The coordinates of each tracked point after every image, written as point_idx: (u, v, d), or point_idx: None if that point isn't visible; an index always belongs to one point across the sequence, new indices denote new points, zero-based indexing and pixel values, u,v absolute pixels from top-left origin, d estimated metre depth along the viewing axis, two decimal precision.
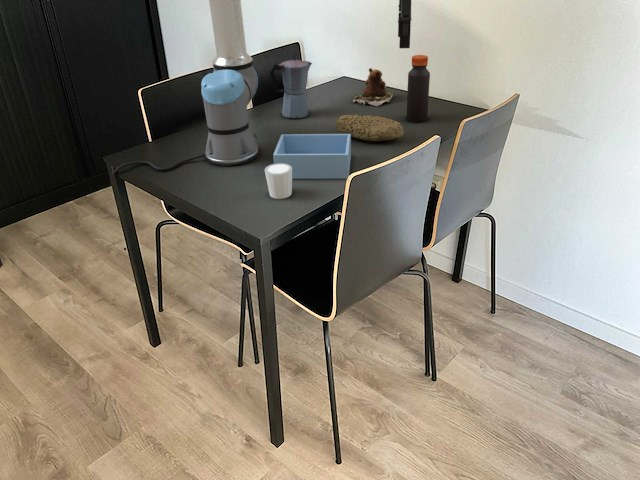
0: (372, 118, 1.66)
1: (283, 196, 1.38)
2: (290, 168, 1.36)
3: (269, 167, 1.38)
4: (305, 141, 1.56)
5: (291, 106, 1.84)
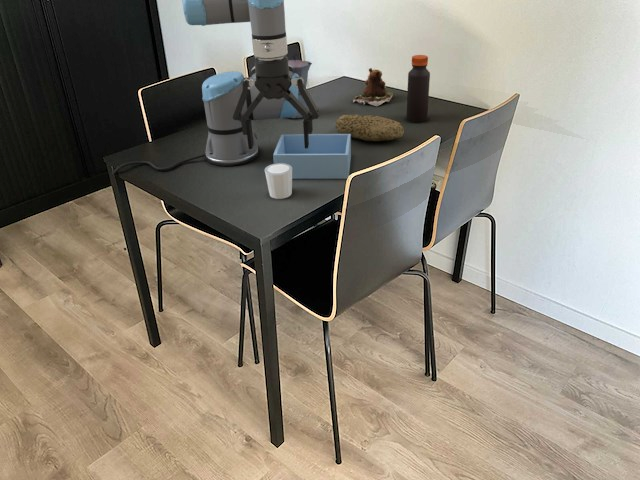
0: (372, 118, 1.66)
1: (283, 196, 1.38)
2: (290, 168, 1.36)
3: (269, 167, 1.38)
4: None
5: None
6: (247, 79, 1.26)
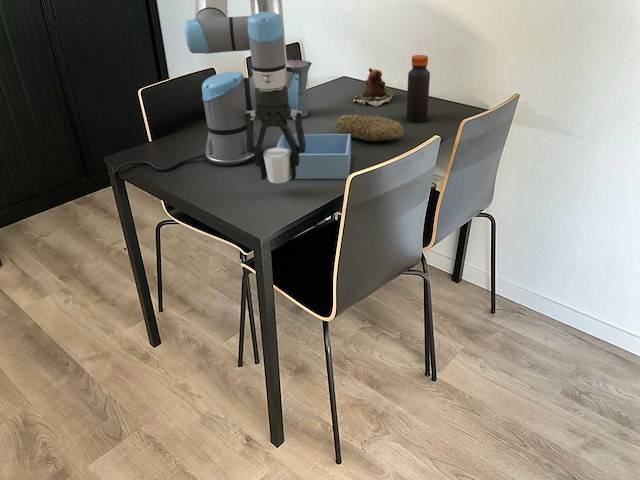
0: (372, 118, 1.66)
1: (282, 180, 1.36)
2: (289, 152, 1.34)
3: (268, 151, 1.36)
4: (305, 141, 1.56)
5: None
6: (247, 111, 1.30)
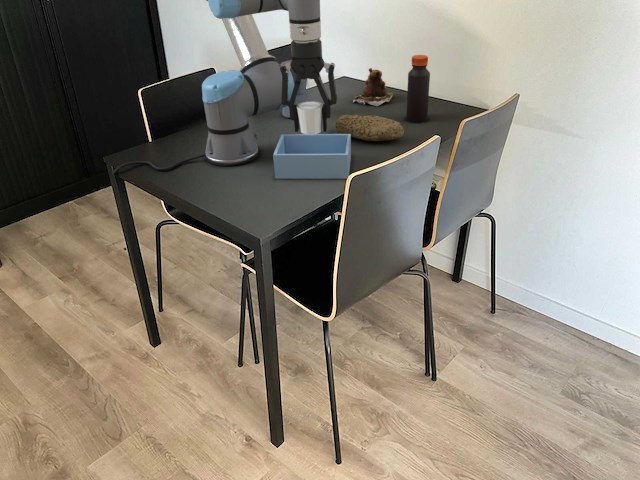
0: (372, 118, 1.66)
1: (314, 132, 1.44)
2: (321, 104, 1.43)
3: (301, 104, 1.44)
4: (305, 141, 1.56)
5: None
6: (283, 65, 1.38)
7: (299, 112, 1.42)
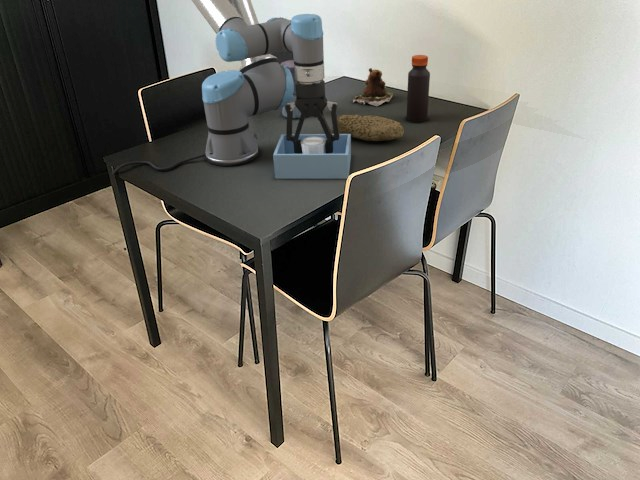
0: (372, 118, 1.66)
1: None
2: (324, 140, 1.49)
3: (304, 139, 1.50)
4: None
5: None
6: (288, 103, 1.44)
7: (303, 148, 1.48)
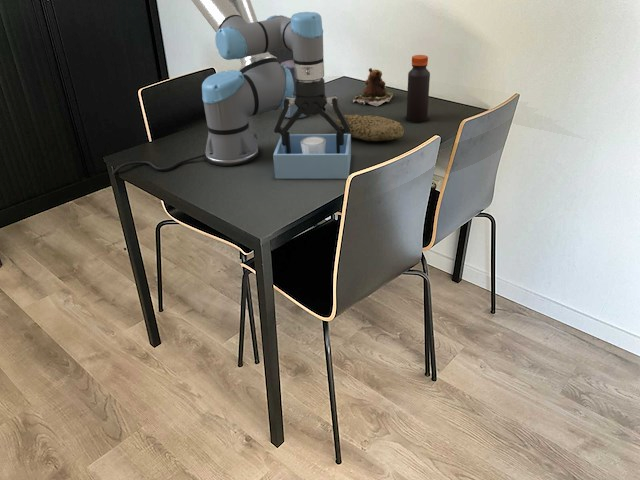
0: (372, 118, 1.66)
1: None
2: (324, 140, 1.49)
3: (304, 139, 1.50)
4: None
5: (291, 106, 1.84)
6: (288, 97, 1.43)
7: (303, 148, 1.48)
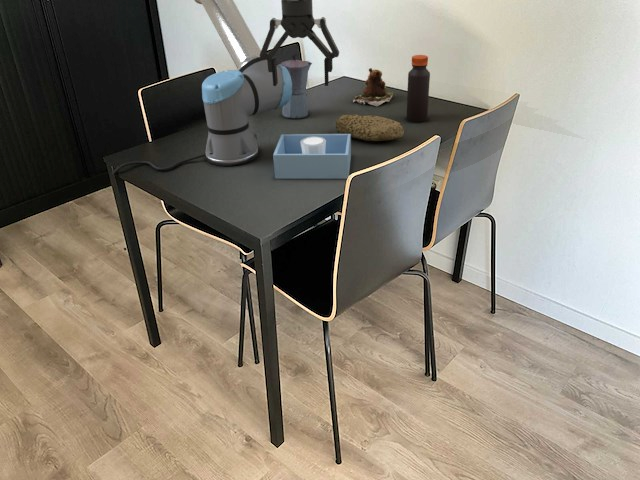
0: (372, 118, 1.66)
1: None
2: (324, 140, 1.49)
3: (304, 139, 1.50)
4: None
5: (291, 106, 1.84)
6: (274, 19, 1.37)
7: (303, 148, 1.48)
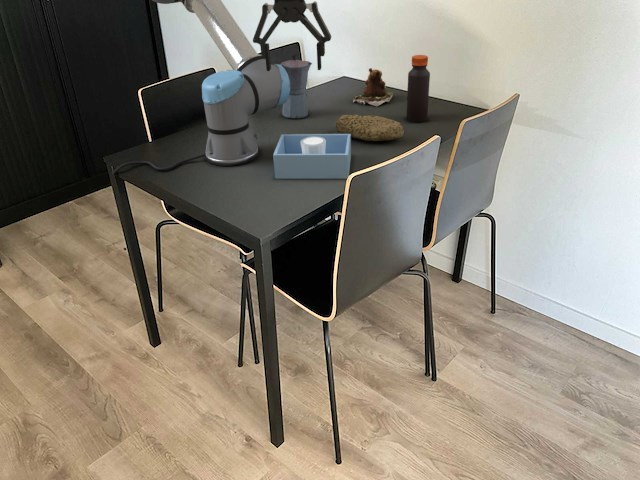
0: (372, 118, 1.66)
1: None
2: (324, 140, 1.49)
3: (304, 139, 1.50)
4: None
5: (291, 106, 1.84)
6: (266, 4, 1.39)
7: (303, 148, 1.48)
